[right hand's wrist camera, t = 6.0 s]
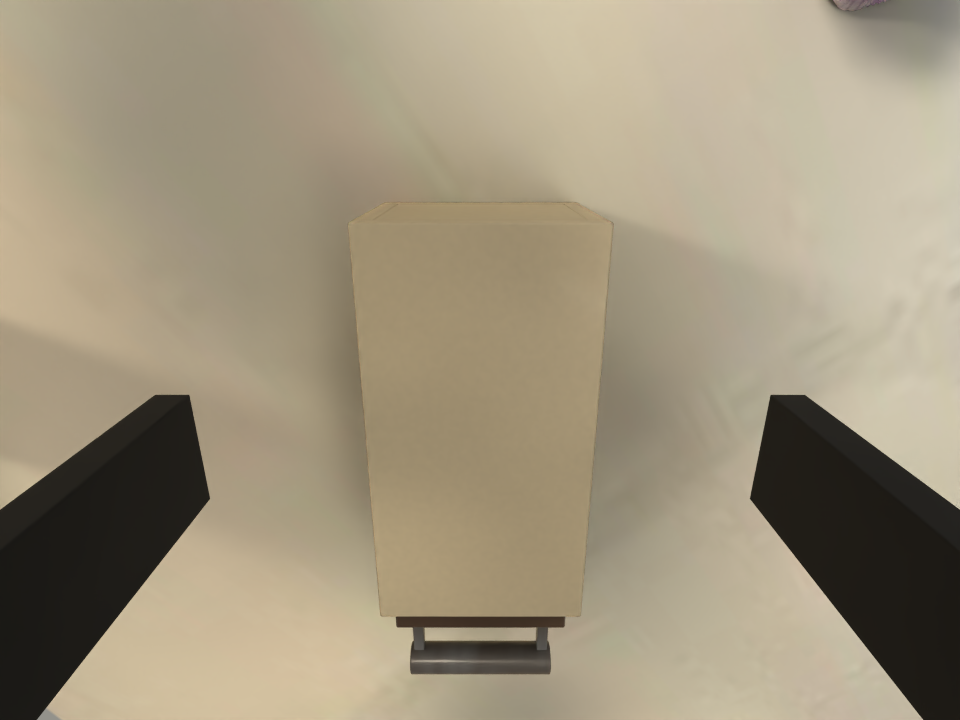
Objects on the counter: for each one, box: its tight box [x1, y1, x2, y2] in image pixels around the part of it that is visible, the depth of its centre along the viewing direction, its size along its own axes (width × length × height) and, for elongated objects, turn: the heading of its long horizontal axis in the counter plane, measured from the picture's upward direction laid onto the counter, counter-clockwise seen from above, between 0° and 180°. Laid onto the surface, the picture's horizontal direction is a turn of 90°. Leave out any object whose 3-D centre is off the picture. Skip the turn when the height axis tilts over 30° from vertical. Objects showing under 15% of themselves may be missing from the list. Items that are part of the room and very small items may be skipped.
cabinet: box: [348, 203, 614, 617], centre depth 29 cm, size 20×10×9 cm, turn 0°
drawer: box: [396, 616, 565, 674], centre depth 30 cm, size 24×9×7 cm, turn 0°
